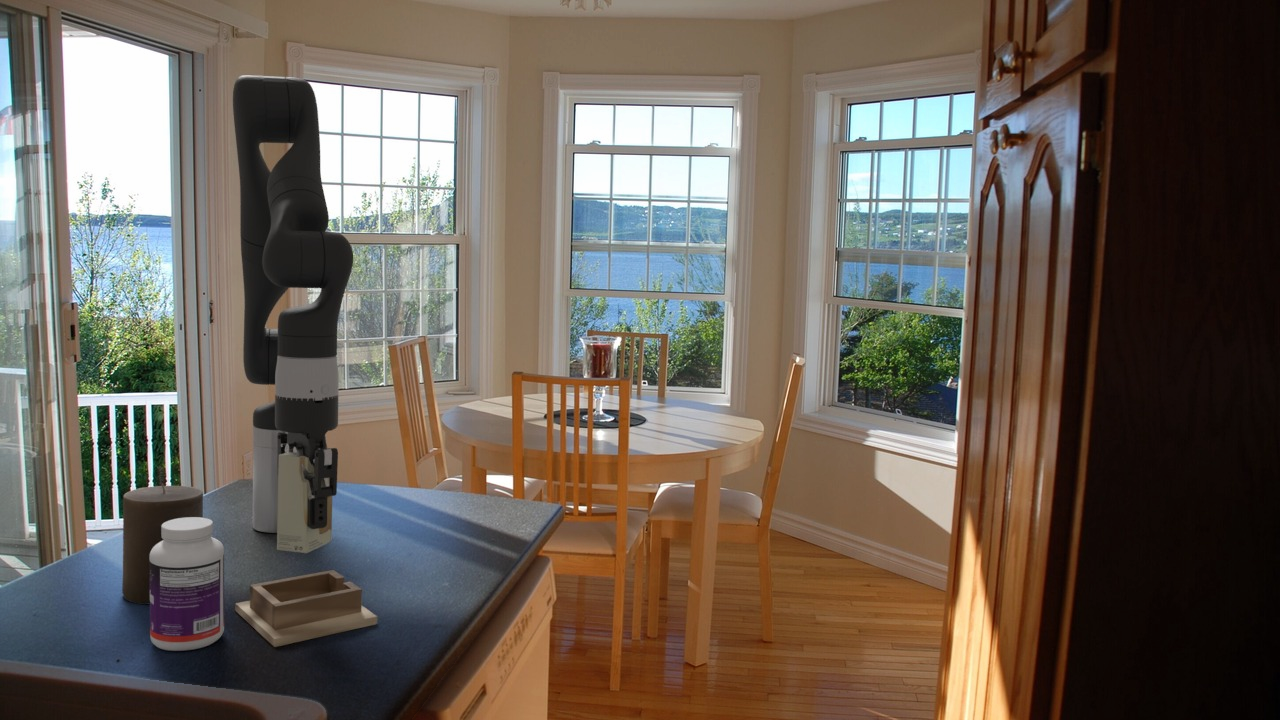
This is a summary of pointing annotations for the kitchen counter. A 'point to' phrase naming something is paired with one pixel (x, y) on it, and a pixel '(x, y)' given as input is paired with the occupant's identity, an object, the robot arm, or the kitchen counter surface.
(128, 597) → the pillar candle
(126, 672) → the kitchen counter surface
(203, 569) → the pill bottle
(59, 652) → the kitchen counter surface
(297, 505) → the skincare box
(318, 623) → the frame
